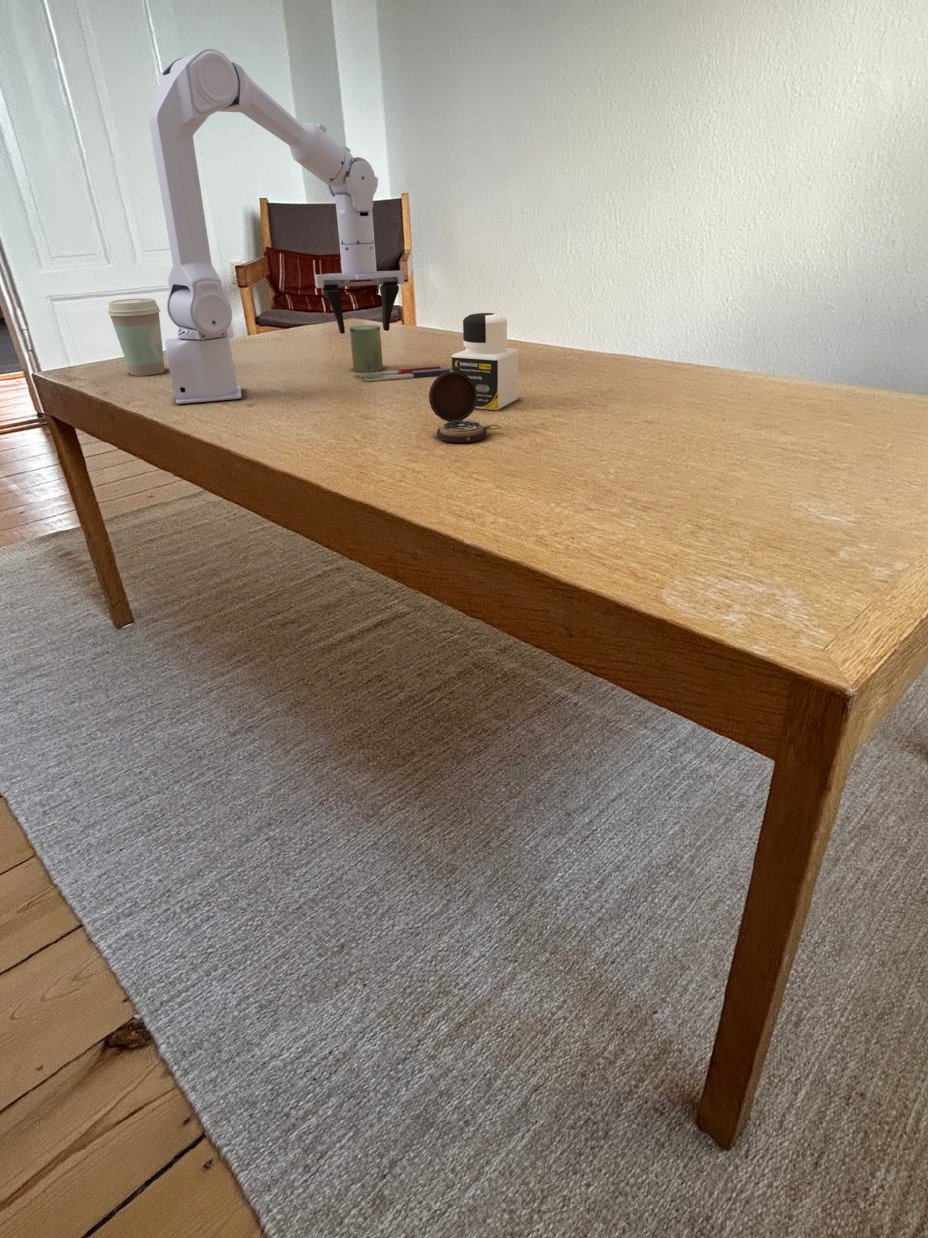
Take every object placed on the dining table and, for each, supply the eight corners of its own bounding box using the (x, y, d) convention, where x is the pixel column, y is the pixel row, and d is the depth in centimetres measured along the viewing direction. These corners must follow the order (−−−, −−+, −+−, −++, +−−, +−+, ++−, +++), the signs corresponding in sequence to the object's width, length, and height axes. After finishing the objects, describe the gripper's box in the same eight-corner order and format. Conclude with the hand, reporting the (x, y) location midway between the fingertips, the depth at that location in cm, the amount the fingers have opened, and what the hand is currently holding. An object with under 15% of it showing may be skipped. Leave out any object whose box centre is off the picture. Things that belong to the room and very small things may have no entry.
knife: (366, 381, 123) (365, 376, 123) (364, 379, 125) (364, 374, 124) (454, 374, 127) (454, 369, 126) (451, 372, 128) (451, 367, 128)
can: (355, 372, 130) (351, 330, 126) (351, 367, 134) (347, 325, 131) (385, 370, 131) (382, 328, 127) (380, 365, 135) (377, 324, 132)
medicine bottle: (452, 406, 107) (449, 316, 101) (475, 395, 112) (473, 309, 106) (497, 411, 104) (497, 318, 98) (518, 399, 109) (519, 311, 103)
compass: (444, 446, 90) (441, 384, 86) (429, 429, 96) (426, 371, 93) (507, 440, 91) (508, 378, 88) (489, 424, 98) (488, 366, 95)
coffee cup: (162, 376, 131) (146, 302, 125) (114, 377, 131) (96, 304, 126) (179, 367, 139) (165, 297, 133) (134, 368, 139) (117, 298, 133)
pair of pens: (360, 377, 126) (359, 372, 126) (358, 375, 128) (358, 370, 127) (440, 371, 129) (440, 366, 129) (438, 369, 131) (438, 364, 130)
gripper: (314, 246, 118) (324, 337, 124) (405, 242, 121) (410, 331, 128) (310, 244, 124) (320, 331, 130) (397, 240, 127) (402, 326, 134)
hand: (364, 331), depth 129 cm, fingers open, 7 cm apart
